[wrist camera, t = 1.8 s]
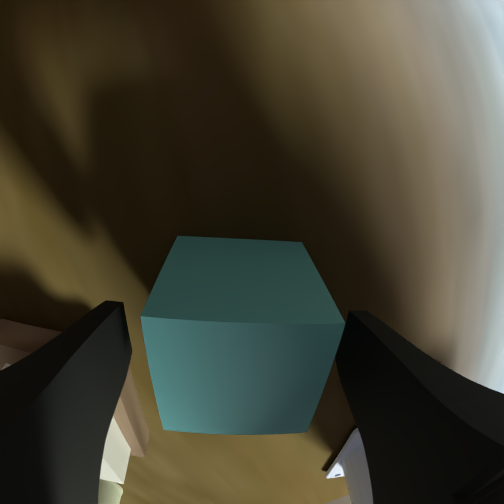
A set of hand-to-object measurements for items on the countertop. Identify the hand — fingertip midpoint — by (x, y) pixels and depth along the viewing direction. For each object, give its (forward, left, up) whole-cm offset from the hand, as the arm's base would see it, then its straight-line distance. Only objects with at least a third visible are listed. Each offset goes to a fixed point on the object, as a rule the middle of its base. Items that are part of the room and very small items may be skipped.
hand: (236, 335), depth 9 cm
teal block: (0, 0, -3) cm, 3 cm away
